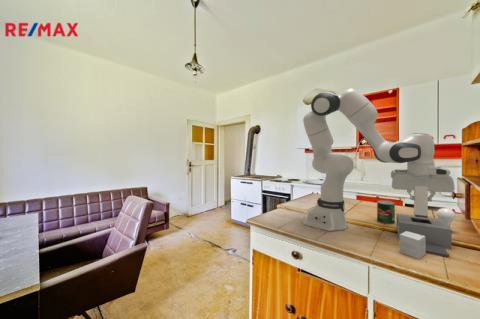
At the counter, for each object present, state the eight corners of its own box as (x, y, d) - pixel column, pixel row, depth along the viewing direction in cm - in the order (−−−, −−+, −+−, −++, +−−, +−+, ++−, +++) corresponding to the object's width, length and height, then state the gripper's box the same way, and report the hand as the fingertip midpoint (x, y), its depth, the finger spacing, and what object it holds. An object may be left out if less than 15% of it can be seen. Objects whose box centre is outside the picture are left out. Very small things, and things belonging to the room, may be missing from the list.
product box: (406, 248, 79) (406, 230, 78) (426, 254, 73) (426, 236, 73) (399, 252, 76) (399, 234, 75) (419, 259, 70) (419, 240, 70)
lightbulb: (452, 234, 88) (452, 211, 87) (433, 229, 94) (433, 207, 93) (458, 231, 90) (458, 209, 90) (440, 227, 96) (440, 205, 96)
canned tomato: (378, 223, 105) (378, 203, 104) (376, 218, 112) (375, 200, 111) (396, 225, 101) (396, 204, 100) (393, 220, 108) (392, 201, 107)
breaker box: (399, 239, 85) (399, 222, 85) (396, 228, 97) (396, 213, 96) (451, 249, 76) (451, 229, 76) (441, 235, 87) (441, 218, 87)
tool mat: (423, 252, 75) (423, 250, 75) (419, 245, 80) (419, 242, 80) (449, 257, 70) (449, 255, 70) (443, 249, 76) (443, 246, 76)
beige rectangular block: (415, 216, 86) (415, 185, 85) (413, 214, 89) (413, 184, 88) (427, 218, 83) (427, 186, 83) (425, 215, 86) (425, 184, 86)
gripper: (391, 170, 88) (391, 199, 89) (456, 171, 77) (456, 205, 77) (390, 168, 94) (390, 196, 94) (451, 169, 82) (451, 201, 82)
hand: (420, 200), depth 86 cm, fingers closed on beige rectangular block, 4 cm apart
